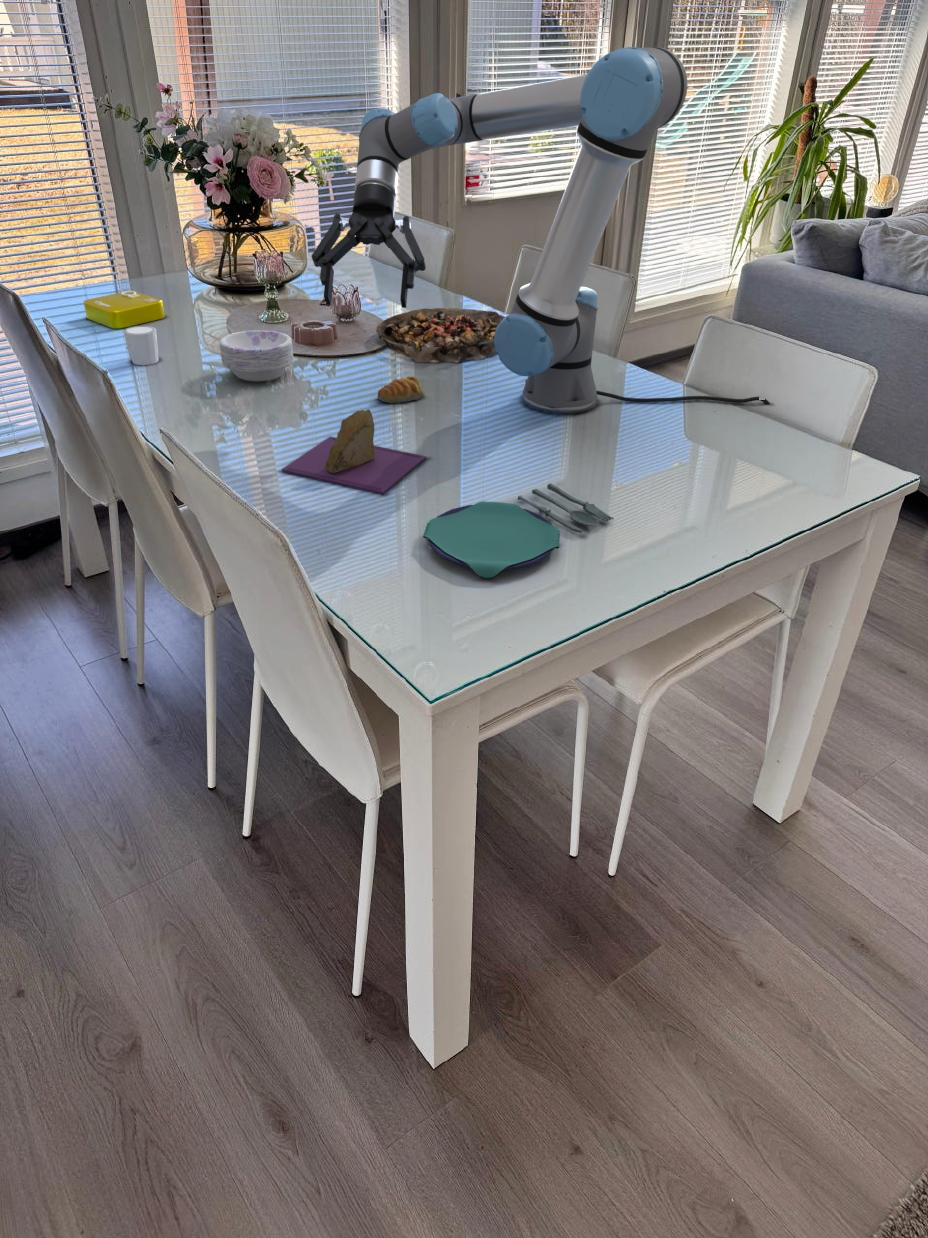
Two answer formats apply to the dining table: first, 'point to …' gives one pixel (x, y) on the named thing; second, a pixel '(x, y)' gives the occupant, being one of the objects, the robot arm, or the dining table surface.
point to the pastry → (401, 390)
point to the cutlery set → (503, 533)
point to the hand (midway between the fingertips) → (365, 302)
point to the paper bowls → (257, 354)
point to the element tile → (124, 309)
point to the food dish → (442, 334)
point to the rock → (352, 442)
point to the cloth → (357, 468)
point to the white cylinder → (142, 344)
